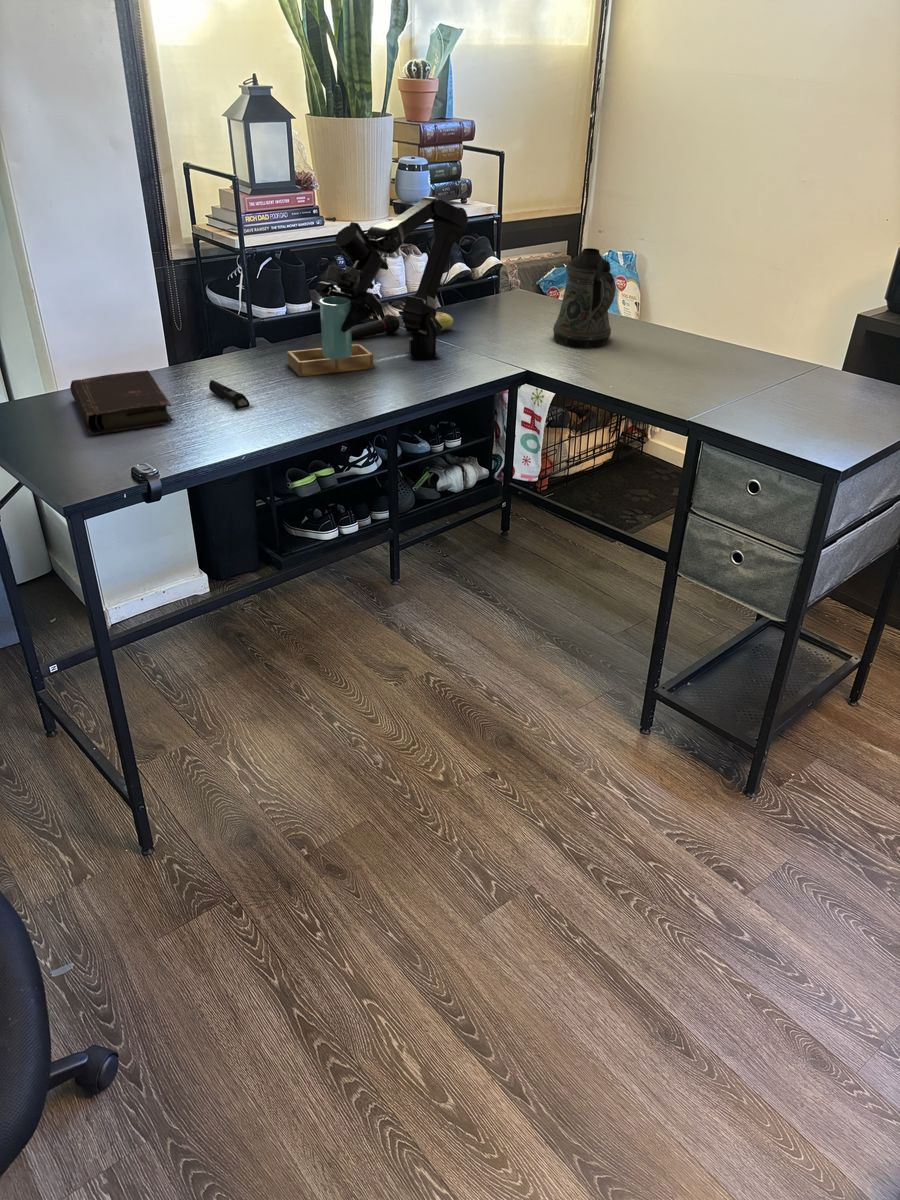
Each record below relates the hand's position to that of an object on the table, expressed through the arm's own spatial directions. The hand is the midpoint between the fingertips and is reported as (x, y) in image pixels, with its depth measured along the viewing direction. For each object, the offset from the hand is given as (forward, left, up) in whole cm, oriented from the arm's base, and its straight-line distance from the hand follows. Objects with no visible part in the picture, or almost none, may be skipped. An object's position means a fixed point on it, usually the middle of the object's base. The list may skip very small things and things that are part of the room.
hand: (331, 328), depth 213 cm
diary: (+49, +13, -14) cm, 52 cm away
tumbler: (-1, -1, -7) cm, 7 cm away
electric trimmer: (+26, +9, -14) cm, 31 cm away
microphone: (-14, -41, -14) cm, 46 cm away
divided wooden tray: (-1, -14, -13) cm, 19 cm away
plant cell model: (-32, -43, -10) cm, 55 cm away
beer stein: (-75, -26, -14) cm, 81 cm away
